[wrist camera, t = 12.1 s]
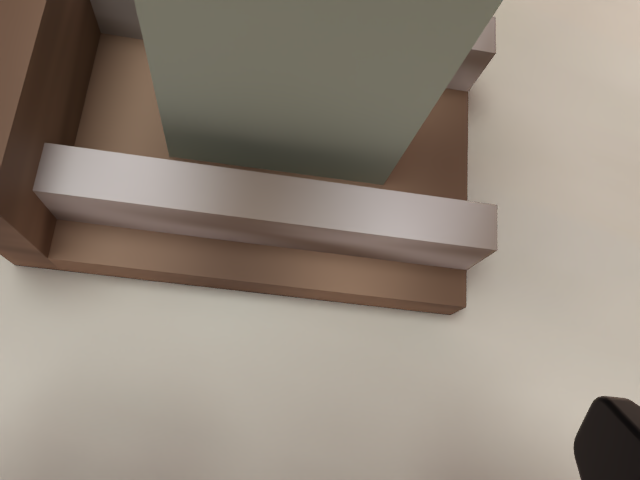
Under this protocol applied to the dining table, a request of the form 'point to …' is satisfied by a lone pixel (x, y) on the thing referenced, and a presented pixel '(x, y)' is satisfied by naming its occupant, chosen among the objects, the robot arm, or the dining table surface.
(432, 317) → the dining table surface
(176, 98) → the pale green rectangular box
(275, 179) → the cabinet base
